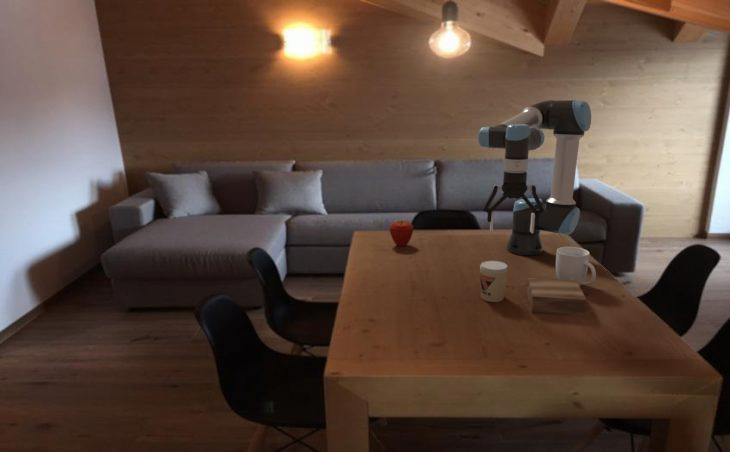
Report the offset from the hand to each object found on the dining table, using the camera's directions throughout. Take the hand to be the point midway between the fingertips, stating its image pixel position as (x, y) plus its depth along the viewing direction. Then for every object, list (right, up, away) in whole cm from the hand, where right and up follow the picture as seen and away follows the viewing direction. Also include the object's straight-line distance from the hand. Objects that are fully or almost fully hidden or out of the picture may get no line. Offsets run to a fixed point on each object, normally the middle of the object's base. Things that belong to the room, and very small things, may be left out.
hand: (511, 231), depth 174 cm
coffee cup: (-7, -23, +1) cm, 24 cm away
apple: (-34, -7, +58) cm, 68 cm away
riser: (+12, -24, -6) cm, 28 cm away
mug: (+25, -20, +9) cm, 33 cm away
